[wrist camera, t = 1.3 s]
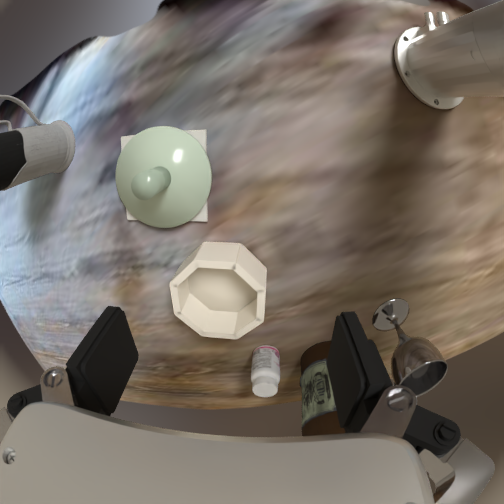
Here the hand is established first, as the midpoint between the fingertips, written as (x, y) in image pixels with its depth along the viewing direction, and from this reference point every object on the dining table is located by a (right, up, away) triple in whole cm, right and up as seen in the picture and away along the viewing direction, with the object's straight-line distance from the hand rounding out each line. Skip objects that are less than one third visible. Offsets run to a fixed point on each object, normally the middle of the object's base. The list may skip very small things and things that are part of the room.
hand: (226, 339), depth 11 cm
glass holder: (-30, +23, +20) cm, 43 cm away
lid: (-11, +13, +22) cm, 28 cm away
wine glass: (+25, -7, +30) cm, 40 cm away
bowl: (-3, 0, +29) cm, 29 cm away
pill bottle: (+4, -14, +35) cm, 38 cm away
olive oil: (+15, -16, +35) cm, 41 cm away
